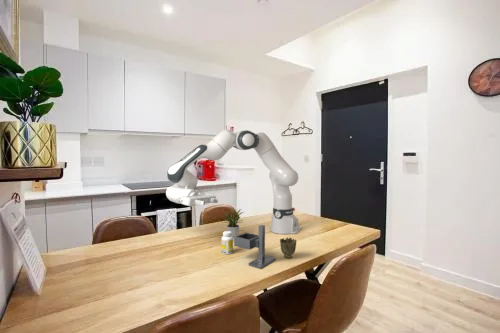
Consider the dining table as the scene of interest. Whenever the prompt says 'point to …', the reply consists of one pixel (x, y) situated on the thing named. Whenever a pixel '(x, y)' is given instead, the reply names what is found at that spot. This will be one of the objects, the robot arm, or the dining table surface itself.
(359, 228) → the dining table surface
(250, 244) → the cup bracket
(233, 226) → the house plant
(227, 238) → the supplement bottle
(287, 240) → the cup
